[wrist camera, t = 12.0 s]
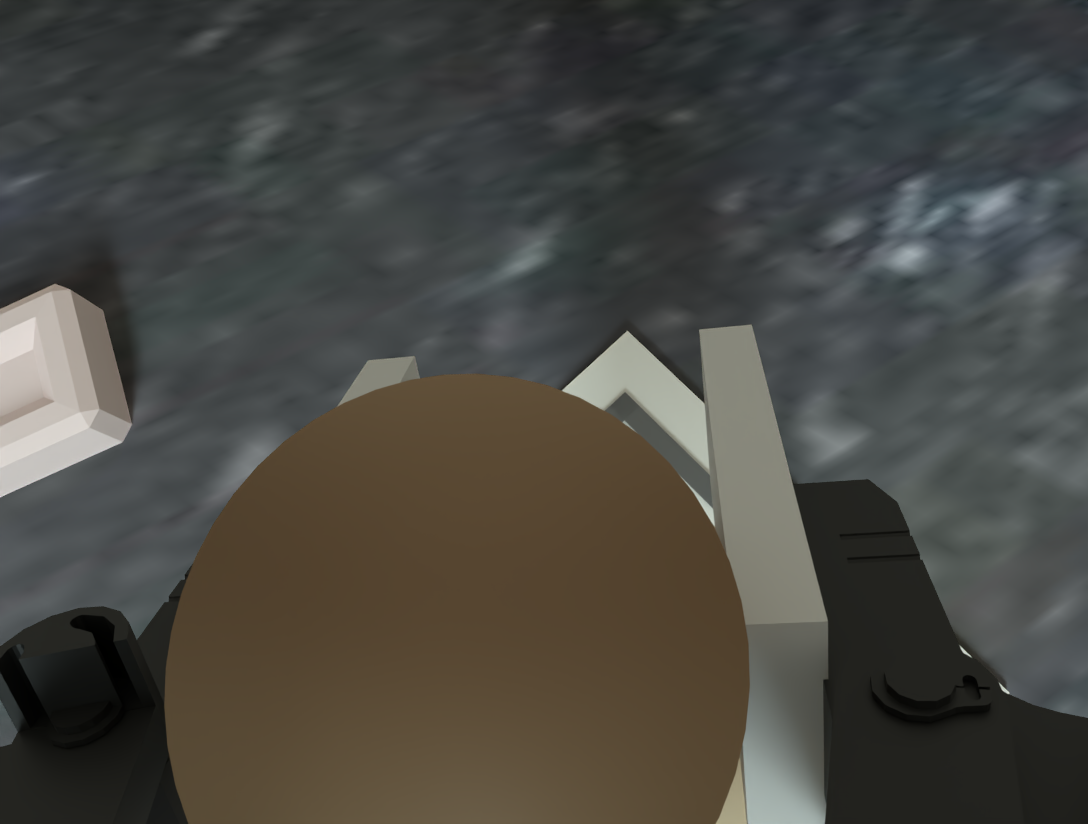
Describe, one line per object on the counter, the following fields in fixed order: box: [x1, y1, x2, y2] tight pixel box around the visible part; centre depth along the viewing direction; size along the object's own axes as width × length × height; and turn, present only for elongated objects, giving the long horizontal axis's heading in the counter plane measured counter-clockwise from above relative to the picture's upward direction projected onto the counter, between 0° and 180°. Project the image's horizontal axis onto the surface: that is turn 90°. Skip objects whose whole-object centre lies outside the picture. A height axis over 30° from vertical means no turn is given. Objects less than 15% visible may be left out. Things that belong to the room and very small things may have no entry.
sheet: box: [562, 331, 1009, 694], centre depth 25 cm, size 14×14×1 cm
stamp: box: [164, 374, 750, 824], centre depth 12 cm, size 5×5×11 cm
